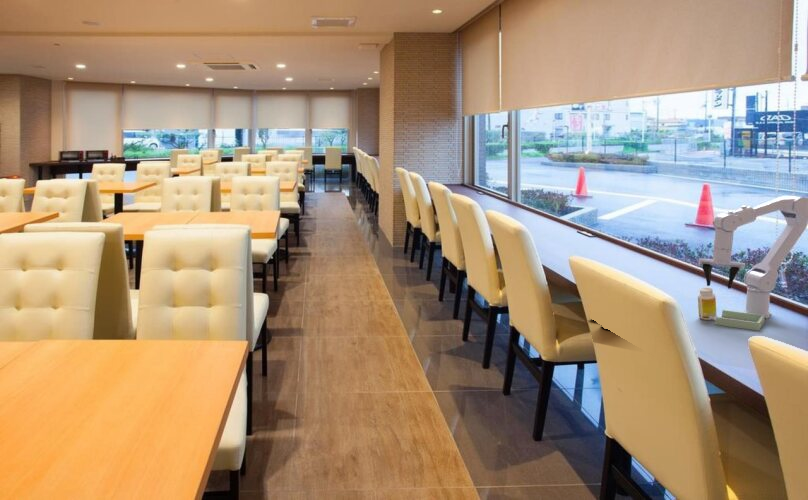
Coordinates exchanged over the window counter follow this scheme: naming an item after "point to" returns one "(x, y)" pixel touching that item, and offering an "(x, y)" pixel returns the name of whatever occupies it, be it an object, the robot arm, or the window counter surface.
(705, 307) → the supplement bottle
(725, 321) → the tray
